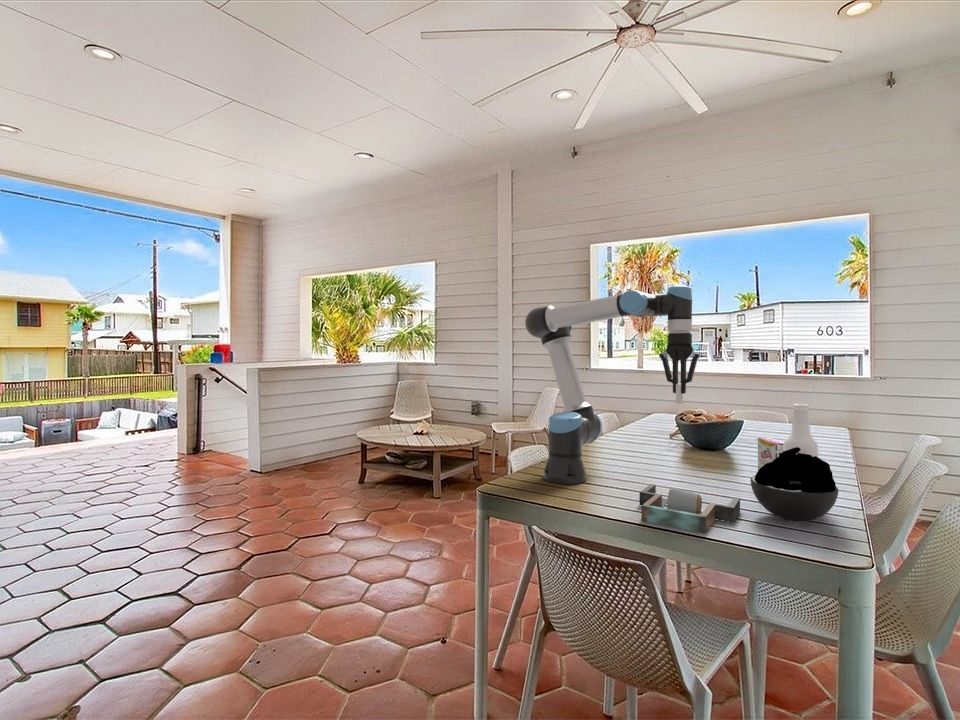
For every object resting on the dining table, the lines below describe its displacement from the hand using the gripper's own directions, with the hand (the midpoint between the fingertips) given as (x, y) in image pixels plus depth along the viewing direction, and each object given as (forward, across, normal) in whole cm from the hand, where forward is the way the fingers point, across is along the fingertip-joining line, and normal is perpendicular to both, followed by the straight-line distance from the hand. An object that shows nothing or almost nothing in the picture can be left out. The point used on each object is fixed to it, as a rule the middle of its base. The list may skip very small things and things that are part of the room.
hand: (679, 403), depth 163 cm
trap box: (+28, -8, +28) cm, 41 cm away
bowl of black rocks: (+29, -33, +15) cm, 46 cm away
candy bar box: (+29, -26, -16) cm, 42 cm away
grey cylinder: (+29, -8, +29) cm, 42 cm away
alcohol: (+29, -34, -2) cm, 44 cm away
